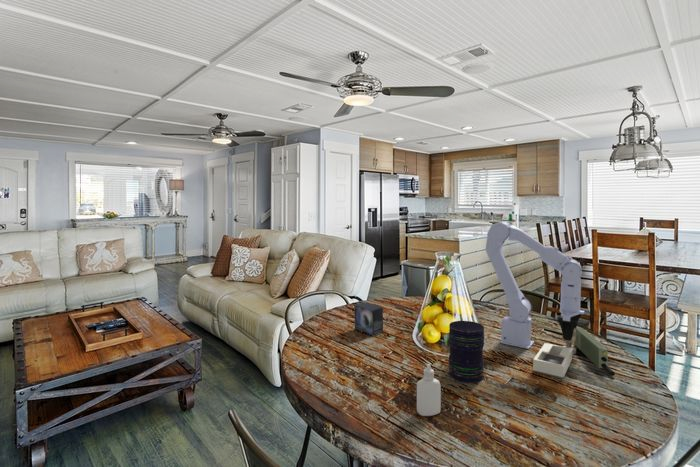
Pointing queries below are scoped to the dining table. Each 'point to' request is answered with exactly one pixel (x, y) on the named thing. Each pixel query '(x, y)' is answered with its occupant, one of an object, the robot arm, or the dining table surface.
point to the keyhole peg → (569, 343)
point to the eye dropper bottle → (428, 394)
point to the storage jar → (466, 351)
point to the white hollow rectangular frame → (553, 360)
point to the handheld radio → (593, 349)
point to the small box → (368, 318)
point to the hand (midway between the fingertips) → (569, 336)
